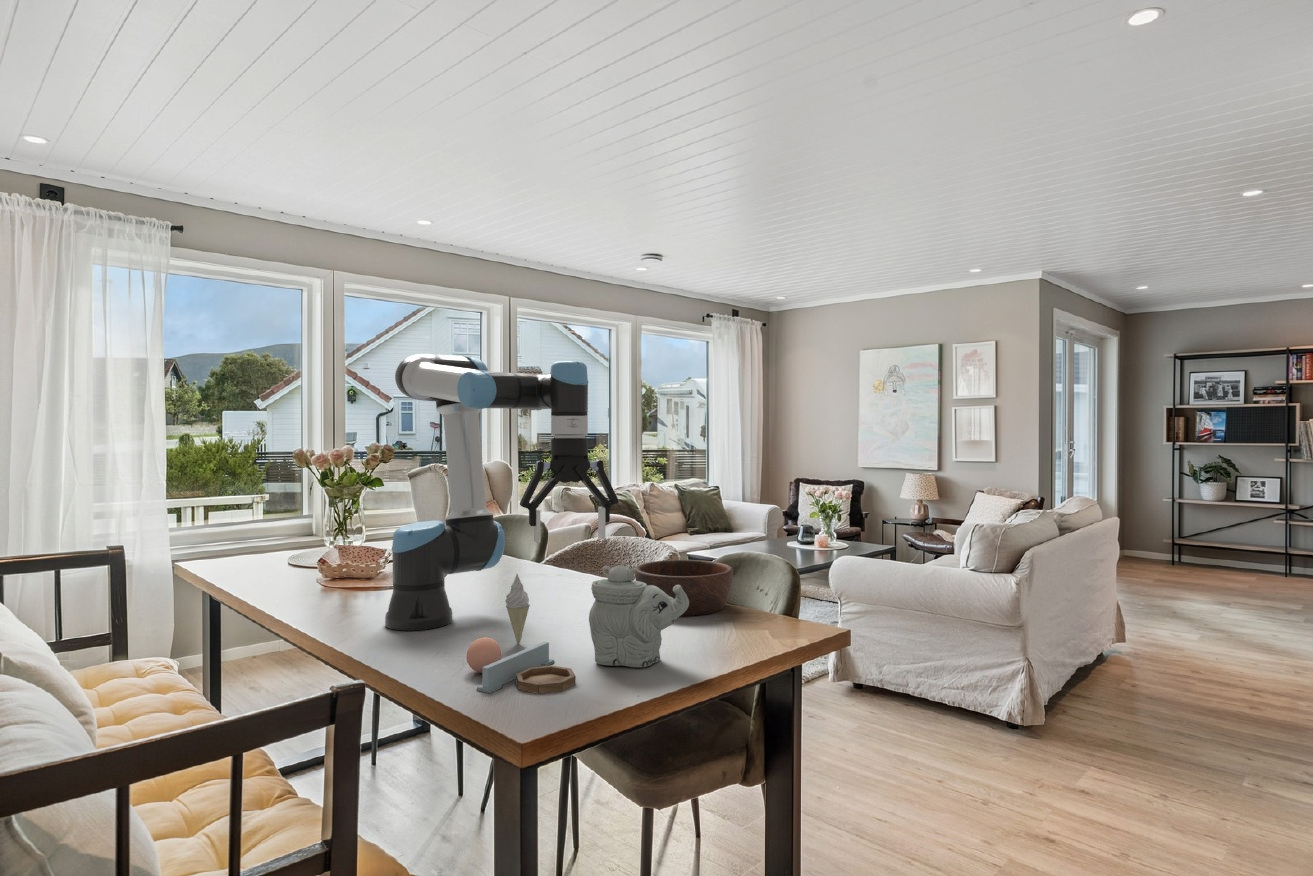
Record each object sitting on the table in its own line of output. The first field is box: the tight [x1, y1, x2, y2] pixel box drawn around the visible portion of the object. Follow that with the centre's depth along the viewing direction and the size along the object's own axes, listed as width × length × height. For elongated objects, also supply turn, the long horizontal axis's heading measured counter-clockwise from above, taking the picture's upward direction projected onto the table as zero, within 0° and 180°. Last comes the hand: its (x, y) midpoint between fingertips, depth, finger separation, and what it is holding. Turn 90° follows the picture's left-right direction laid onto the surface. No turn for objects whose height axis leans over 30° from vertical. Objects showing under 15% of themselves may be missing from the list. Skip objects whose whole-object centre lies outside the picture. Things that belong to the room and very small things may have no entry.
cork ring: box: [515, 665, 577, 694], centre depth 135 cm, size 10×10×2 cm
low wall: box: [476, 641, 555, 694], centre depth 139 cm, size 3×19×4 cm, turn 153°
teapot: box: [588, 564, 689, 668], centre depth 147 cm, size 16×15×19 cm
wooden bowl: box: [634, 559, 734, 617], centre depth 193 cm, size 25×25×10 cm
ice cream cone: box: [505, 573, 531, 645], centre depth 160 cm, size 5×5×15 cm
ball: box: [465, 636, 502, 674], centre depth 142 cm, size 6×6×6 cm
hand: (570, 540), depth 156 cm, fingers open, 13 cm apart
